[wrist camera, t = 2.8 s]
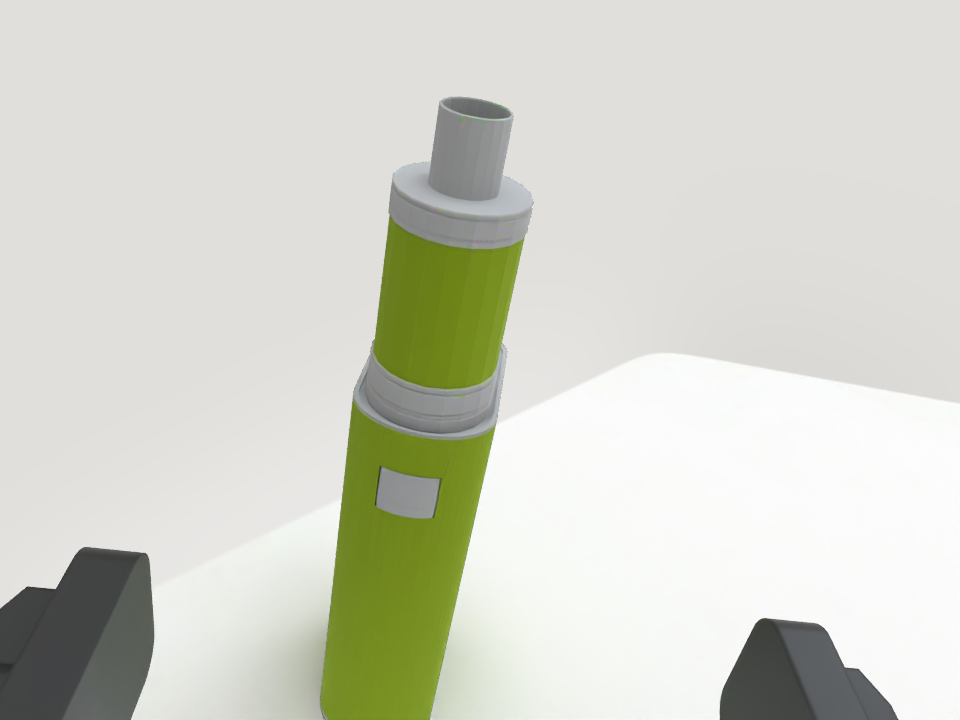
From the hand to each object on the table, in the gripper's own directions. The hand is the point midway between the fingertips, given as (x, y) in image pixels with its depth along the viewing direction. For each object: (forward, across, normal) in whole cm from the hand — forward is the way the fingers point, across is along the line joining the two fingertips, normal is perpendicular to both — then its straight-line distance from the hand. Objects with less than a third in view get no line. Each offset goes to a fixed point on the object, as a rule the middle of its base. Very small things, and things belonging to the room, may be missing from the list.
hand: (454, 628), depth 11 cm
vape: (+11, 0, +16) cm, 20 cm away
